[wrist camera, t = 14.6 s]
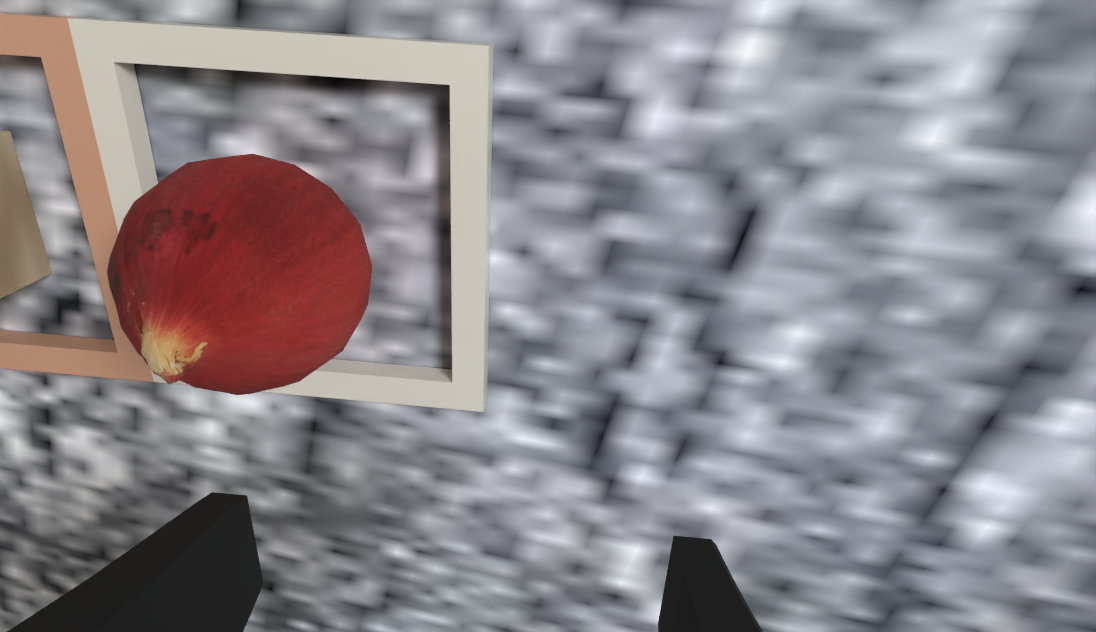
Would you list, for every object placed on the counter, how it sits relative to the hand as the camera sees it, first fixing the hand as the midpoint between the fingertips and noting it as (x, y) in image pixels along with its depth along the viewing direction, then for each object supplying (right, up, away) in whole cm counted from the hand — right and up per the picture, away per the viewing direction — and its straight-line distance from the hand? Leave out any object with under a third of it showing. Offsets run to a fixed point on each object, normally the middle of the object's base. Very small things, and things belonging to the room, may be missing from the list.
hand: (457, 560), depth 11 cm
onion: (-6, +7, +9) cm, 13 cm away
